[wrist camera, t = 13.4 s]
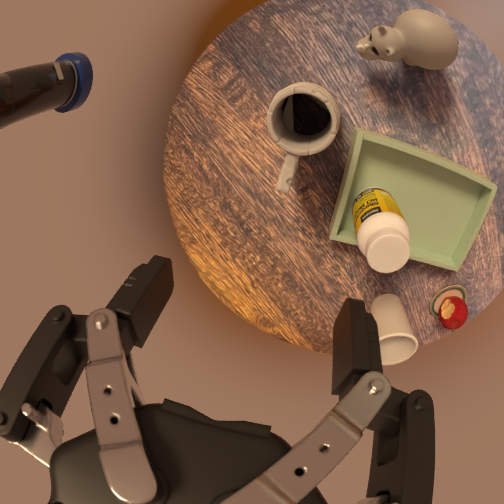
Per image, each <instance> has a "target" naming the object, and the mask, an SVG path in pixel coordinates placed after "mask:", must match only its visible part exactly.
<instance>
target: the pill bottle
mask: <svg viewBox="0 0 504 504" xmlns="http://www.w3.org/2000/svg"><path fill="white" fill-rule="evenodd" d="M352 216H353V221H354V227H355V233H356V239H357V244H358V247H359V249H360V251H361V252H362V254H363V255H364V256H365V257H366V258H367V261H368V263H369V265H370V266H371V267H372V268H373V269H374V270H376V271H378V272H382V273H391V272H394V271H397V270H399V269H400V268H402V267H403V266H404V265H405V264H406V262H407V261H408V259H409V256H410V246H409V240H410V232H409V228H408V225H407V223H406V221H405V219H404V217H403V215H402V213H401V211H400V209H399V207H398V205H397V203H396V202H395V200H394V198H393V196H392V195H391V194H390V193H389V192H388V191H387V190H385V189H383V188H380V187H368V188H365V189H363V190H362V191H360V192H359V193H358V194H357V195H356V197H355V198H354V200H353V203H352Z"/></svg>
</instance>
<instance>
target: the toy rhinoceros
mask: <svg viewBox="0 0 504 504" xmlns="http://www.w3.org/2000/svg"><path fill="white" fill-rule="evenodd" d="M458 44H459V42H458V40H457V38H456V36H455V34H454V32H453V30H452V29H451V27H450V26H449V25H448V23H447V22H446V21H445V20H443V19H442V18H441V17H439V16H438V15H436V14H434V13H432V12H430V11H427V10H422V9H413V10H409V11H406V12H404V13H403V14H401V15H400V16H399V17H398V19H397V20H396V22H395V24H394V25H393V27H389V26H381V25H380V26H377V27H375V28H373V29H372V30H371V32H370V34H369V35H368V36H367V37H365V38H362V39H360V40H359V41H358V42H357V46H356V49H357V50H358V52H359V54H360V55H361V56H362V57H363V58H365V59H368V60H375V59H382V60H385V61H389V62H395V61H398V60H400V59H401V58H402V59H403V61H404V62H405V63H406V64H408V65H409V66H413V67H415V66H420V67H422V68H425V69H430V70H439V69H443V68H446V67H448V66H449V65H451V64H452V63H453V61H454V60H455V58H456V56H457V52H458Z"/></svg>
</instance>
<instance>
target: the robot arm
mask: <svg viewBox="0 0 504 504" xmlns="http://www.w3.org/2000/svg"><path fill="white" fill-rule="evenodd" d="M78 83H79V75H78V70H77V67H76V65H75V64H74V63H73V62H72V61H71V60H61V61H56V62H49V63H44V64H38V65H33V66H28V67H25V68H20V69H16V70H11V71H8V72H4V73H1V74H0V129H2V128H4V127H7V126H9V125H11V124H13V123H16V122H18V121H21V120H24V119H26V118H29V117H31V116H34V115H37V114H40V113H43V112H46V111H48V110H52V109H55V108H58V107H63V106H66V105H68V104H69V103H70V102H71V101H72V100H73V98H74V96H75V94H76V92H77V88H78ZM173 287H174V281H173V271H172V261H171V259H169V258H165V257H161V256H157V255H155V256H153V257H152V259H151V260H150V261H149V263H148V264H141V265H140V266H138V267H137V268H135V269H134V270H133V271H132V273H131V274H130V275H129V276H128V279H126V280H125V282H124V283H123V285H122V286H121V287H120V289H119V290H118V291H117V293H116V294H115V295H114V297H113V298H112V300H111V301H110V302H109V304H108V305H107V306H106V307H105V308H100V309H97V310H95V311H93V312H92V313H91V314H90V315H75V314H72V312H71V310H70V308H69V307H67V306H65V305H58V306H55V307H53V308H52V309H51V310H50V311H49V312H48V313H47V314H46V316H45V317H44V319H43V320H42V322H41V323H40V325H39V326H38V328H37V329H36V331H35V332H34V334H33V335H32V337H31V338H30V340H29V342H28V343H27V345H26V346H25V348H24V350H23V351H22V353H21V354H20V356H19V358H18V360H17V362H16V363H15V365H14V367H13V368H12V370H11V372H10V374H9V375H8V377H7V379H6V381H5V383H4V385H3V387H2V389H1V391H0V436H1V437H3V438H5V439H6V440H7V441H8V442H10V443H12V444H14V445H15V446H17V447H19V448H21V449H23V450H25V451H26V452H27V453H28V454H30V455H31V456H32V457H34V458H35V459H37V460H38V461H39V462H41V463H42V464H44V465H45V466H47V467H48V468H49V471H50V478H51V496H50V500H49V502H48V504H328V503H327V502H326V500H325V499H324V497H323V496H322V494H321V492H320V491H319V489H318V488H317V485H318V484H319V483H320V482H321V481H322V480H323V479H324V478H325V477H326V476H327V475H328V474H329V473H330V472H331V471H332V470H333V469H334V468H335V467H336V466H337V465H338V464H339V463H340V461H341V460H342V459H343V458H344V457H345V456H346V455H347V454H348V453H349V452H350V451H351V449H352V448H353V447H354V446H355V445H356V444H357V442H358V441H359V440H360V438H361V437H362V435H363V434H362V432H363V431H364V429H365V428H367V429H370V430H373V431H374V438H373V449H372V459H371V467H370V476H369V482H368V489H367V494H366V498H365V499H363V500H361V501H359V502H358V503H357V504H432V496H433V485H434V470H435V425H434V424H435V423H434V406H433V401H432V398H431V396H430V395H429V394H428V393H426V392H425V391H423V390H414V391H413V392H411V393H410V394H408V393H405V392H403V391H400V390H398V389H395V388H393V387H392V386H391V384H390V381H389V380H388V378H387V377H386V376H385V375H384V374H383V370H382V359H381V350H380V343H379V335H378V326H377V322H376V320H375V319H374V317H373V315H372V314H370V313H366V311H365V303H364V301H363V300H358V299H353V298H347V299H346V300H345V302H344V304H343V306H342V308H341V310H340V312H339V314H338V316H337V318H336V321H335V324H334V329H333V370H332V395H339V402H338V403H337V404H336V405H335V406H334V407H333V409H332V410H331V411H330V412H329V413H328V414H327V415H326V416H325V417H324V418H323V419H322V420H321V421H320V422H319V423H318V424H317V425H316V426H315V427H313V428H312V429H311V430H310V431H309V432H308V433H307V434H306V435H305V436H304V437H303V438H301V439H300V440H299V441H298V442H297V443H296V444H295V445H294V446H293V447H291V446H290V445H289V444H288V443H287V442H286V441H285V440H284V439H283V438H281V437H280V436H278V435H276V434H274V433H272V432H270V430H271V426H268V425H262V424H257V423H252V422H247V421H216V420H213V419H211V418H209V417H207V416H205V415H204V414H202V413H200V412H198V411H197V410H195V409H193V408H191V407H190V406H186V405H184V404H180V403H177V402H174V401H171V400H168V399H164V402H163V404H160V403H155V404H154V403H153V404H146V403H145V400H144V398H143V395H142V392H141V390H140V387H139V383H138V379H137V375H136V371H135V368H134V363H133V359H132V354H131V350H132V348H133V346H137V347H140V348H142V347H143V345H144V343H145V341H146V340H147V338H148V336H149V334H150V332H151V330H152V328H153V327H154V325H155V323H156V321H157V319H158V318H159V316H160V314H161V312H162V310H163V309H164V307H165V305H166V303H167V301H168V300H169V298H170V296H171V294H172V292H173ZM59 352H60V353H59ZM58 354H59V355H58ZM55 359H56V360H55ZM88 360H89V363H87V362H88ZM54 361H55V362H54ZM84 367H85V371H86V380H87V387H88V393H89V400H90V405H91V411H92V416H93V421H94V426H95V429H93V430H91V431H88V432H86V433H84V434H82V435H80V436H78V437H76V438H73V439H71V440H69V441H66V442H64V443H62V436H63V435H64V430H63V423H62V421H61V419H60V418H61V416H62V413H63V411H64V409H65V407H66V405H67V402H68V400H69V398H70V396H71V394H72V392H73V390H74V388H75V385H76V383H77V381H78V379H79V377H80V375H81V373H82V371H83V369H84Z"/></svg>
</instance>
